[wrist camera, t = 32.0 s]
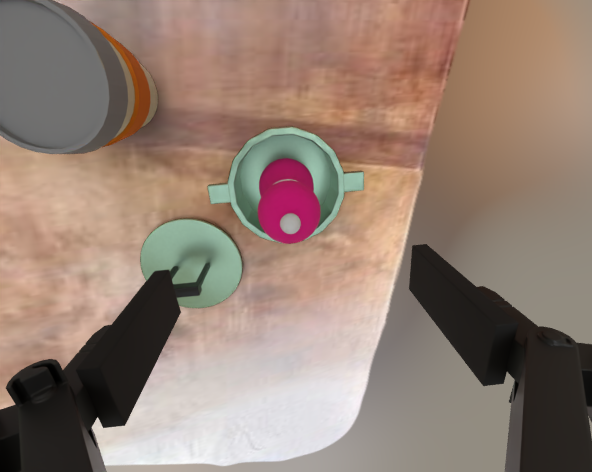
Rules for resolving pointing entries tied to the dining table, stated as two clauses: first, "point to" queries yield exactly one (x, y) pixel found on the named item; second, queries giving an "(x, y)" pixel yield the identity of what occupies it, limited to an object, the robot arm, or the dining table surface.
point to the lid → (194, 261)
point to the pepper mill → (288, 201)
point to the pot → (278, 146)
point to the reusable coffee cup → (67, 81)
